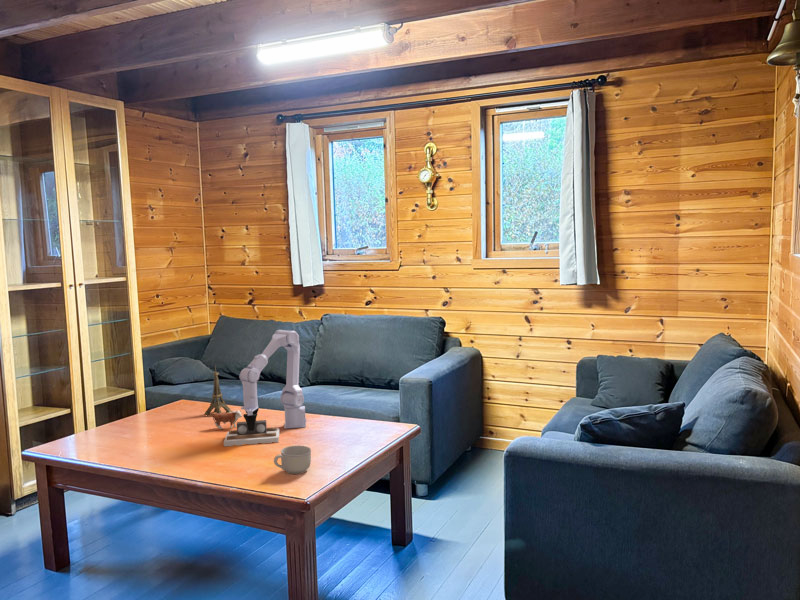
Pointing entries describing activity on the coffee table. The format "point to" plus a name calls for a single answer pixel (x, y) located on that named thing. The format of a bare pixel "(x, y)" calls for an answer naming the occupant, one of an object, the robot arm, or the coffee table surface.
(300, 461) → the teacup
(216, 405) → the eiffel tower
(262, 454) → the coffee table surface
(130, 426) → the coffee table surface
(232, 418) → the bull figurine
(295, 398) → the robot arm
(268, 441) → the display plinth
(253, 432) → the grey rectangular block
